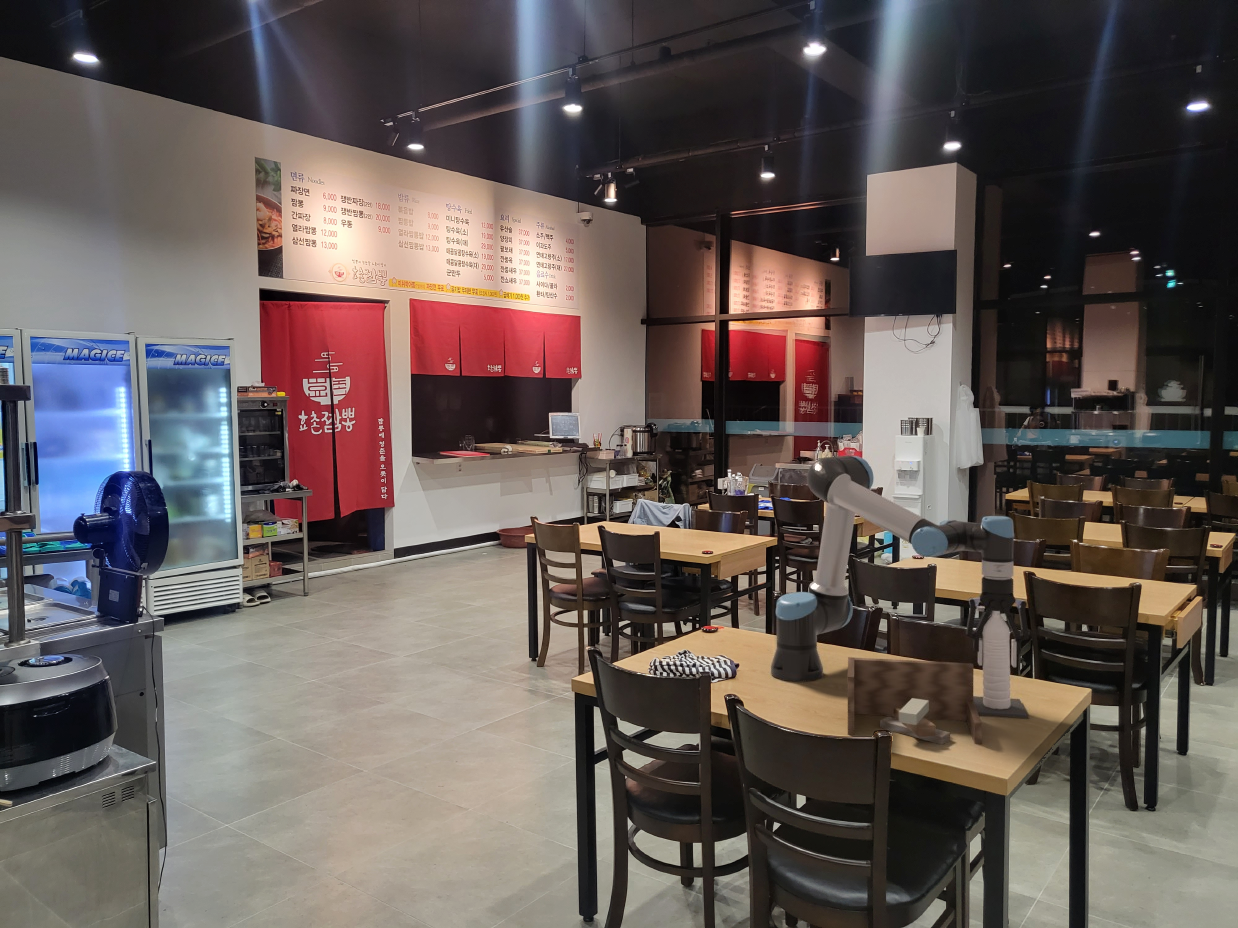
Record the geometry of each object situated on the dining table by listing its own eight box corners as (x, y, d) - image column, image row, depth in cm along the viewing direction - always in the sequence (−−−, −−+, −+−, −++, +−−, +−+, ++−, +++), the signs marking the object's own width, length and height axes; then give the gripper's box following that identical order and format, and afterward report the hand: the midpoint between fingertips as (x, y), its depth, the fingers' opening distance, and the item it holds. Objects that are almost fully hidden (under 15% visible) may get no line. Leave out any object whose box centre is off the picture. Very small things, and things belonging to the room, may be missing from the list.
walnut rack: (847, 734, 215) (847, 676, 214) (848, 710, 232) (848, 657, 231) (981, 743, 207) (981, 684, 206) (972, 718, 224) (972, 663, 223)
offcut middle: (893, 716, 222) (893, 706, 221) (909, 715, 222) (909, 705, 222) (918, 736, 208) (918, 726, 207) (935, 735, 208) (935, 725, 208)
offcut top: (912, 707, 220) (912, 697, 220) (928, 710, 218) (928, 700, 217) (899, 722, 211) (898, 711, 211) (916, 724, 208) (916, 714, 208)
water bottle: (1016, 706, 230) (1014, 609, 228) (999, 711, 226) (998, 613, 225) (986, 698, 237) (985, 604, 236) (970, 702, 234) (969, 607, 233)
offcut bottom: (880, 730, 219) (880, 720, 219) (888, 726, 222) (888, 716, 222) (941, 747, 207) (941, 736, 207) (950, 742, 210) (950, 732, 210)
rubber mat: (972, 714, 227) (972, 711, 227) (966, 698, 239) (966, 695, 239) (1028, 718, 224) (1028, 715, 223) (1019, 701, 236) (1019, 698, 236)
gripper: (956, 578, 228) (956, 666, 230) (1043, 580, 223) (1042, 671, 225) (953, 573, 236) (953, 658, 237) (1037, 575, 230) (1036, 662, 232)
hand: (996, 664), depth 231 cm, fingers open, 7 cm apart
